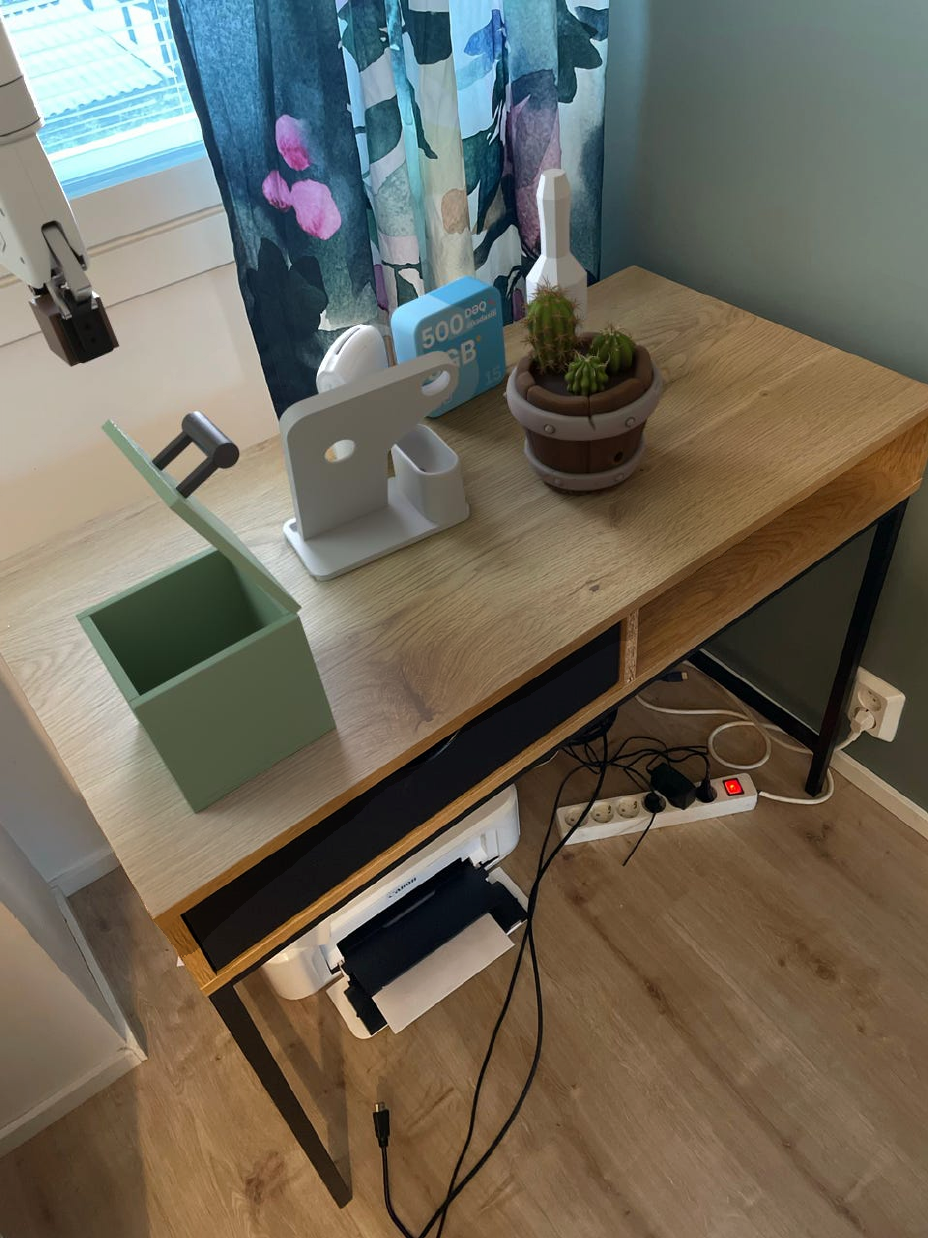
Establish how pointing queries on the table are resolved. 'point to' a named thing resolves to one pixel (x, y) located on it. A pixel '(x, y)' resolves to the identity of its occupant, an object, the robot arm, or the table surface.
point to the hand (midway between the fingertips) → (83, 344)
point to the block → (53, 330)
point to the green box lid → (180, 494)
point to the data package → (455, 335)
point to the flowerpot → (581, 398)
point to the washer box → (211, 673)
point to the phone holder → (371, 467)
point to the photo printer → (351, 365)
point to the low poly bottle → (557, 245)
